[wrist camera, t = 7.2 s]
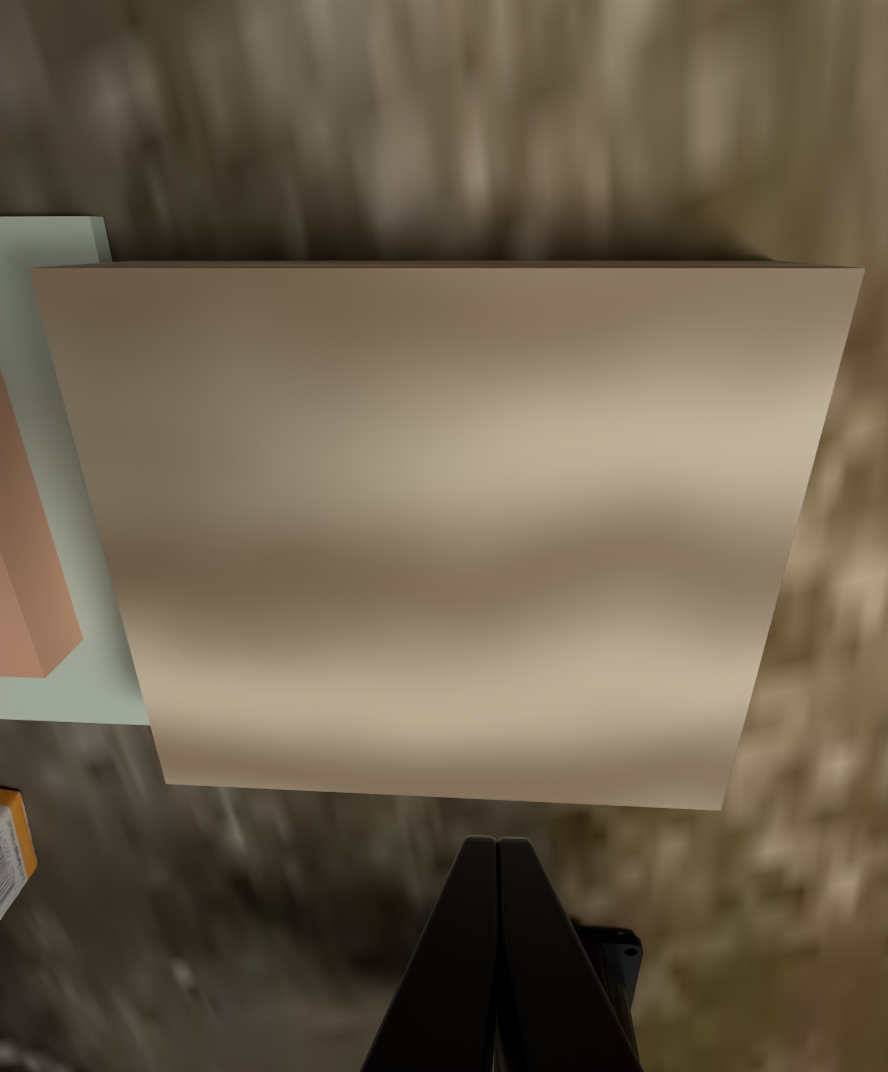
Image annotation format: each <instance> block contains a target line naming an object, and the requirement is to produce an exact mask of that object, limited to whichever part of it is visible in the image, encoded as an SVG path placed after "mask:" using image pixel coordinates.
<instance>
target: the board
mask: <svg viewBox="0 0 888 1072" xmlns="http://www.w3.org/2000/svg"><path fill="white" fill-rule="evenodd" d="M28 270H29V274H30V278H31V281H32V285H33V289H34V293H35V296H36V300H37V304H38V308H39V311H40V315H41V319H42V323H43V326H44V330H45V334H46V338H47V341H48V345H49V349H50V352H51V356H52V360H53V364H54V367H55V371H56V375H57V379H58V382H59V386H60V390H61V394H62V397H63V401H64V405H65V408H66V412H67V416H68V420H69V423H70V427H71V431H72V435H73V438H74V442H75V446H76V450H77V453H78V457H79V461H80V464H81V468H82V472H83V476H84V479H85V483H86V487H87V491H88V494H89V498H90V502H91V506H92V509H93V513H94V517H95V520H96V524H97V528H98V532H99V535H100V539H101V543H102V547H103V550H104V554H105V558H106V562H107V565H108V569H109V573H110V577H111V580H112V584H113V588H114V591H115V595H116V599H117V603H118V606H119V610H120V614H121V618H122V621H123V625H124V629H125V633H126V636H127V640H128V644H129V647H130V651H131V655H132V659H133V662H134V666H135V670H136V674H137V677H138V681H139V685H140V689H141V692H142V696H143V700H144V703H145V707H146V711H147V715H148V718H149V722H150V726H151V730H152V733H153V737H154V741H155V745H156V748H157V752H158V756H159V759H160V763H161V767H162V771H163V774H164V778H165V782H166V784H180V785H201V786H222V787H243V788H264V789H284V790H305V791H326V792H347V793H368V794H388V795H409V796H430V797H451V798H472V799H492V800H513V801H534V802H555V803H575V804H596V805H617V806H638V807H659V808H679V809H700V810H721V807H722V804H723V800H724V796H725V792H726V789H727V785H728V781H729V777H730V774H731V770H732V766H733V762H734V759H735V755H736V751H737V747H738V744H739V740H740V736H741V733H742V729H743V725H744V721H745V718H746V714H747V710H748V706H749V703H750V699H751V695H752V691H753V688H754V684H755V680H756V676H757V673H758V669H759V665H760V661H761V658H762V654H763V650H764V646H765V643H766V639H767V635H768V631H769V628H770V624H771V620H772V616H773V613H774V609H775V605H776V601H777V598H778V594H779V590H780V586H781V583H782V579H783V575H784V571H785V568H786V564H787V560H788V556H789V553H790V549H791V545H792V541H793V538H794V534H795V530H796V526H797V523H798V519H799V515H800V511H801V508H802V504H803V500H804V496H805V493H806V489H807V485H808V481H809V478H810V474H811V470H812V466H813V463H814V459H815V455H816V451H817V448H818V444H819V440H820V437H821V433H822V429H823V425H824V422H825V418H826V414H827V410H828V407H829V403H830V399H831V395H832V392H833V388H834V384H835V380H836V377H837V373H838V369H839V365H840V362H841V358H842V354H843V350H844V347H845V343H846V339H847V335H848V332H849V328H850V324H851V320H852V317H853V313H854V309H855V305H856V302H857V298H858V294H859V290H860V287H861V283H862V279H863V275H864V272H865V268H856V267H844V266H833V265H821V264H810V263H798V262H786V261H120V262H106V263H92V264H78V265H64V266H50V267H36V268H28Z"/></svg>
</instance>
